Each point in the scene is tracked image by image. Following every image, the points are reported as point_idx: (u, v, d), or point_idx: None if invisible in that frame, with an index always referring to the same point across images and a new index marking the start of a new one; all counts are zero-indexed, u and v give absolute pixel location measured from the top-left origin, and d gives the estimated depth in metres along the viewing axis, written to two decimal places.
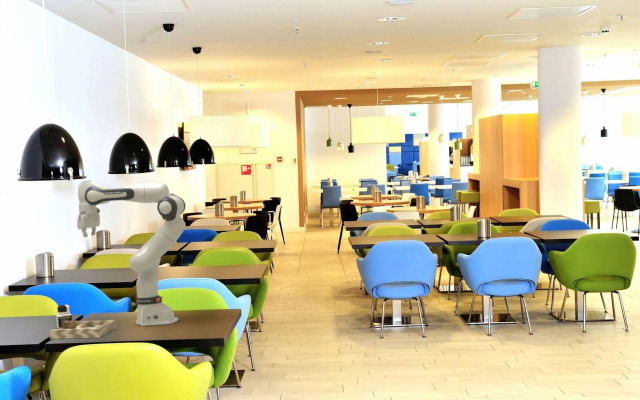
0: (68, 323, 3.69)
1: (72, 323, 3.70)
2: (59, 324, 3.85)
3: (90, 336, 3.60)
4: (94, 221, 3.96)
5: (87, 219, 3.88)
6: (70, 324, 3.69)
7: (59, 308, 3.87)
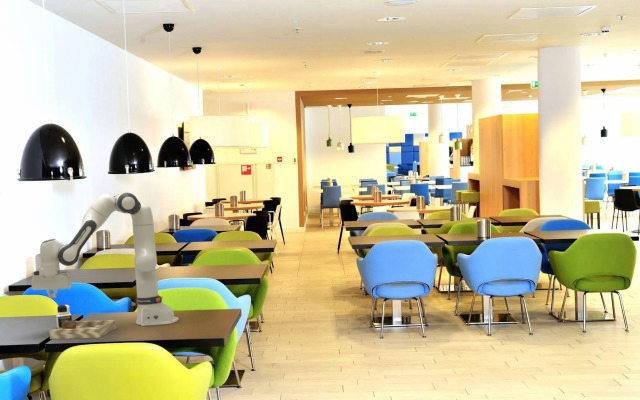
0: (68, 323, 3.69)
1: (72, 323, 3.70)
2: (59, 324, 3.85)
3: (90, 336, 3.60)
4: None
5: None
6: (70, 324, 3.69)
7: (59, 308, 3.87)
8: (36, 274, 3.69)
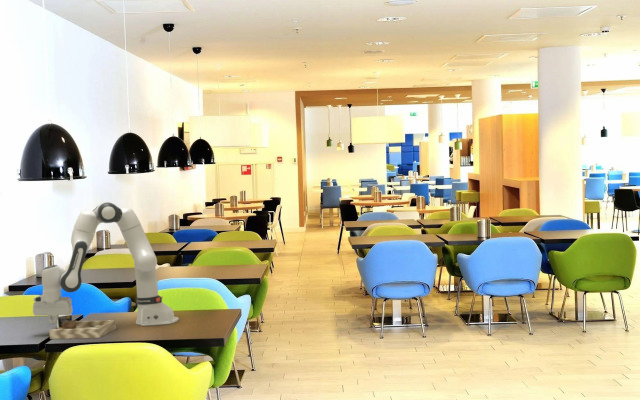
0: (68, 323, 3.69)
1: (72, 323, 3.70)
2: (59, 324, 3.85)
3: (90, 336, 3.60)
4: None
5: None
6: (70, 324, 3.69)
7: None
8: (38, 300, 3.70)
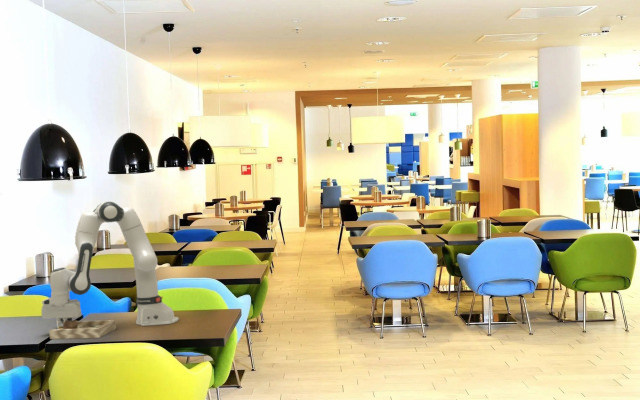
0: (69, 323, 3.69)
1: (73, 323, 3.70)
2: None
3: (90, 336, 3.60)
4: None
5: None
6: (71, 324, 3.69)
7: None
8: (46, 303, 3.69)
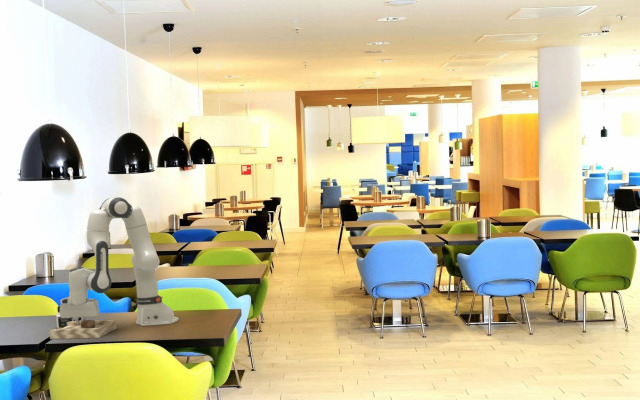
0: (87, 323, 3.67)
1: (91, 323, 3.68)
2: (59, 324, 3.85)
3: (90, 336, 3.60)
4: None
5: None
6: (89, 324, 3.67)
7: (59, 308, 3.87)
8: (64, 302, 3.68)
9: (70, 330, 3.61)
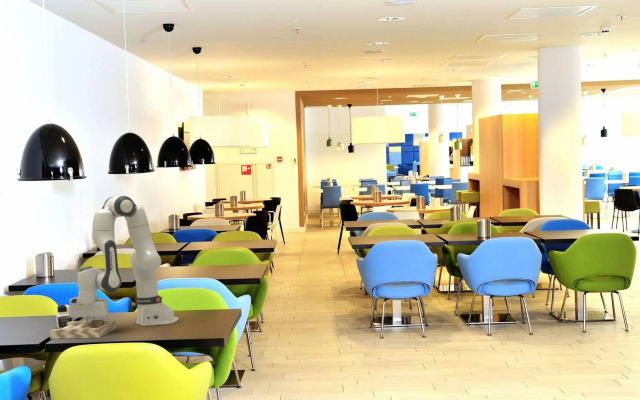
0: (96, 322, 3.66)
1: (100, 322, 3.67)
2: (59, 324, 3.85)
3: (90, 336, 3.60)
4: None
5: None
6: (99, 324, 3.66)
7: (59, 308, 3.87)
8: (73, 302, 3.67)
9: (70, 330, 3.61)
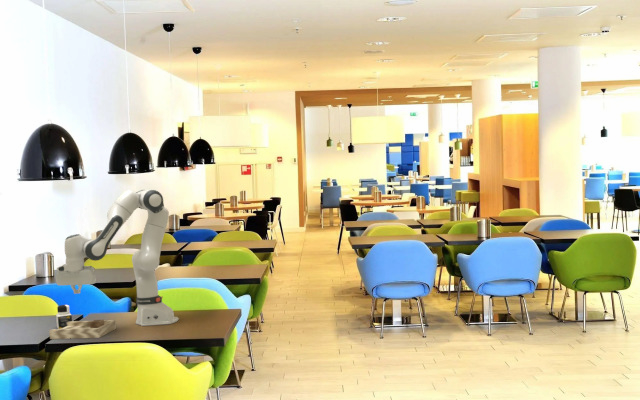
0: (96, 322, 3.66)
1: (100, 322, 3.67)
2: (59, 324, 3.85)
3: (90, 336, 3.60)
4: None
5: None
6: (99, 324, 3.66)
7: (59, 308, 3.87)
8: (61, 270, 3.67)
9: (70, 330, 3.61)
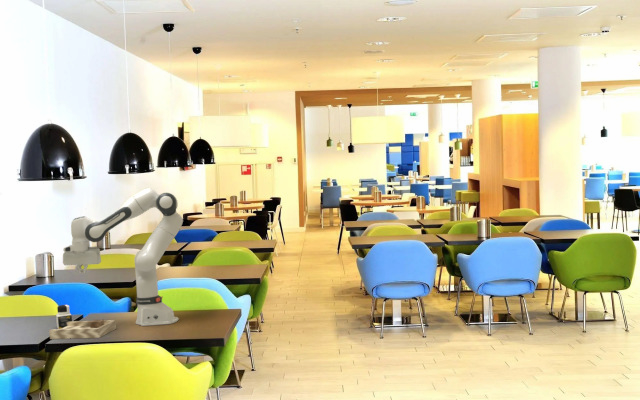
0: (96, 322, 3.66)
1: (100, 322, 3.67)
2: (59, 324, 3.85)
3: (90, 336, 3.60)
4: None
5: None
6: (99, 324, 3.66)
7: (59, 308, 3.87)
8: (67, 250, 3.83)
9: (70, 330, 3.61)
